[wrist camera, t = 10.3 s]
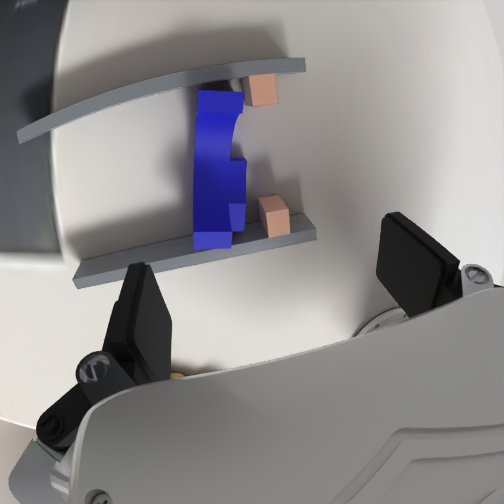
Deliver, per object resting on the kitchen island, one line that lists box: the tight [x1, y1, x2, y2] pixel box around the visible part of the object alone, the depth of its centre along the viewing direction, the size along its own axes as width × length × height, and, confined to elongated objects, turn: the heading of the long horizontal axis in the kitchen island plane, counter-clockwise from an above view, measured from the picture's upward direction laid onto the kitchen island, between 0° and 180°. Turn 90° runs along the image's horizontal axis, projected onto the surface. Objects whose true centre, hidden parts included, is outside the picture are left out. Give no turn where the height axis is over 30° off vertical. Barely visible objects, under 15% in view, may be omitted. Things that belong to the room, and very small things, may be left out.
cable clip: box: [193, 90, 247, 249], centre depth 23 cm, size 12×4×6 cm, turn 174°
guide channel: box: [16, 58, 316, 289], centre depth 23 cm, size 24×16×4 cm
